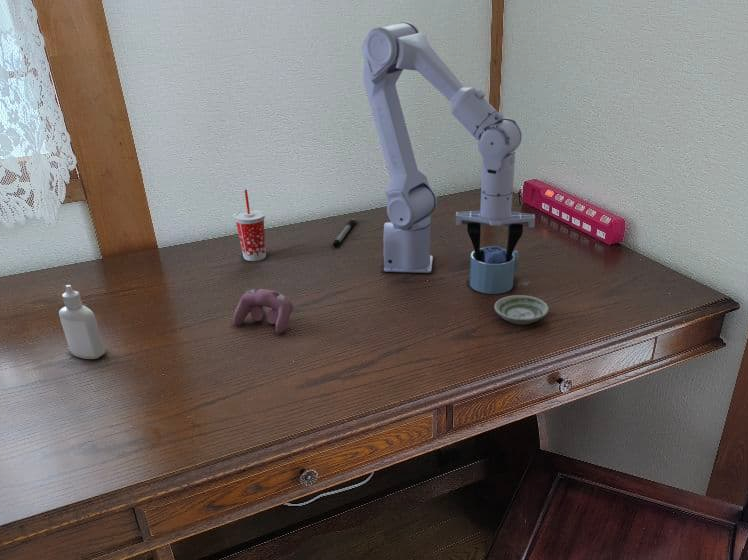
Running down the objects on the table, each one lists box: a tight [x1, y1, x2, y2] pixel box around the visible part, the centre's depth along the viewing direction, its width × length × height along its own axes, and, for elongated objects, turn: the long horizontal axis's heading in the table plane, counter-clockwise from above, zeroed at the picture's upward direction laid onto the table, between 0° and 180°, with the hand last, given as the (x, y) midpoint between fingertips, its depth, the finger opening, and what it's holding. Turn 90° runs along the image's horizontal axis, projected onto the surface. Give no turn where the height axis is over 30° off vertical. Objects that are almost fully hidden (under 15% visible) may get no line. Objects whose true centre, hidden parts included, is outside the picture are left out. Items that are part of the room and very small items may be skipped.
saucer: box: [493, 294, 550, 326], centre depth 131 cm, size 10×10×2 cm
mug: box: [469, 247, 520, 295], centre depth 142 cm, size 11×8×6 cm
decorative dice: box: [480, 245, 506, 264], centre depth 140 cm, size 4×4×4 cm
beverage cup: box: [233, 189, 267, 262], centre depth 148 cm, size 6×6×14 cm
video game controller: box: [232, 288, 294, 334], centre depth 127 cm, size 10×5×7 cm, turn 71°
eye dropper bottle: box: [58, 284, 106, 360], centre depth 115 cm, size 4×6×12 cm
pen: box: [332, 217, 357, 248], centre depth 163 cm, size 1×16×1 cm, turn 171°
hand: (492, 261), depth 140 cm, fingers closed on decorative dice, 5 cm apart
